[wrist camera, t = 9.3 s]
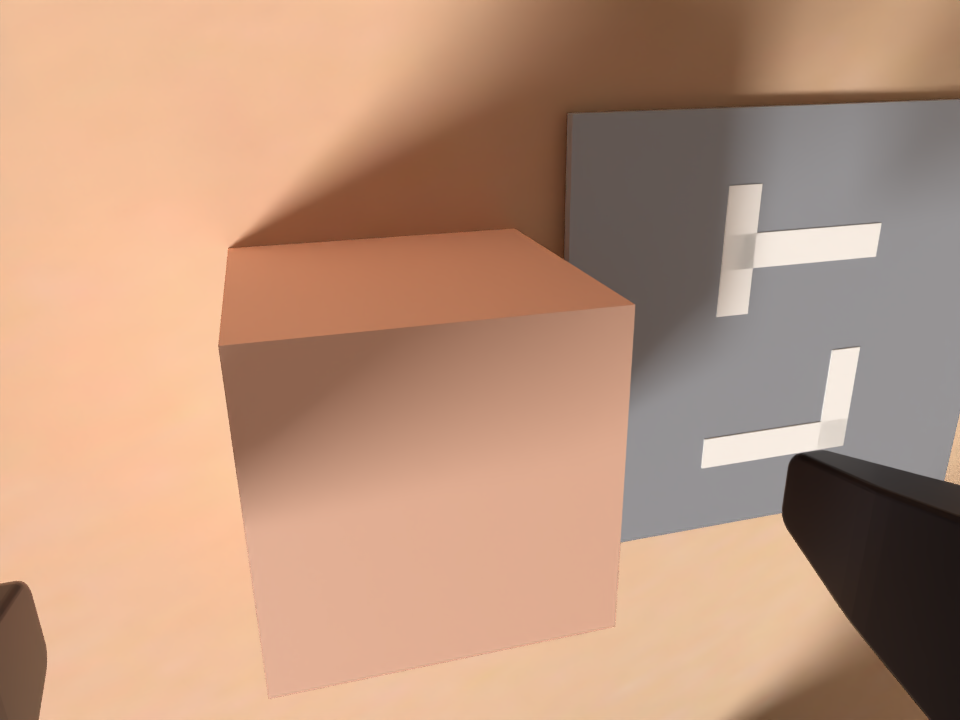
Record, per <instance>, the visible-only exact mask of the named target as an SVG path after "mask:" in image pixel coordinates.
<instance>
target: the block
mask: <svg viewBox="0 0 960 720" xmlns="http://www.w3.org/2000/svg"><path fill="white" fill-rule="evenodd" d="M634 319H635V304H634V303H632V302H630V301H629V300H627V299H626V298H624V297H623V296H621V295H619V294H618V293H616V292H615V291H613V290H611V289H610V288H608V287H607V286H605V285H604V284H602V283H600V282H599V281H597V280H596V279H594V278H592V277H591V276H589V275H588V274H586V273H585V272H583V271H581V270H580V269H578V268H577V267H575V266H573V265H572V264H570V263H569V262H567V261H566V260H564V259H562V258H561V257H559V256H558V255H556V254H554V253H553V252H551V251H550V250H548V249H547V248H545V247H543V246H542V245H540V244H539V243H537V242H535V241H534V240H532V239H531V238H529V237H528V236H526V235H524V234H523V233H521V232H520V231H518V230H516V229H515V228H512V229H498V230H484V231H469V232H455V233H441V234H426V235H412V236H397V237H383V238H369V239H354V240H340V241H325V242H311V243H297V244H282V245H268V246H253V247H239V248H228V256H227V265H226V275H225V285H224V295H223V305H222V315H221V324H220V334H219V344H218V347H219V354H220V361H221V368H222V375H223V382H224V389H225V396H226V404H227V411H228V418H229V425H230V432H231V439H232V446H233V453H234V460H235V467H236V474H237V481H238V488H239V495H240V502H241V509H242V516H243V523H244V530H245V537H246V544H247V551H248V558H249V565H250V572H251V579H252V586H253V593H254V600H255V607H256V614H257V621H258V628H259V635H260V642H261V649H262V656H263V663H264V670H265V677H266V684H267V691H268V698H269V699H271V698H276V697H281V696H286V695H291V694H295V693H300V692H305V691H310V690H315V689H319V688H324V687H329V686H334V685H339V684H343V683H348V682H353V681H358V680H363V679H367V678H372V677H377V676H382V675H386V674H391V673H396V672H401V671H406V670H410V669H415V668H420V667H425V666H430V665H434V664H439V663H444V662H449V661H454V660H458V659H463V658H468V657H473V656H478V655H482V654H487V653H492V652H497V651H502V650H506V649H511V648H516V647H521V646H525V645H530V644H535V643H540V642H545V641H549V640H554V639H559V638H564V637H569V636H573V635H578V634H583V633H588V632H593V631H597V630H602V629H607V628H612V627H615V621H616V605H617V589H618V573H619V557H620V541H621V525H622V509H623V494H624V478H625V462H626V446H627V430H628V414H629V398H630V382H631V366H632V350H633V334H634Z"/></svg>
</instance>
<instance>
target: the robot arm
mask: <svg viewBox="0 0 960 720" xmlns="http://www.w3.org/2000/svg"><path fill="white" fill-rule="evenodd" d="M782 517H783V521H784V523H785V526H786V528H787V530H788V531H789V533H790V534H791V536H792V537H793V539H794V540H795V542H796V543H797V545H798V546H799V548H800V549H801V551H802V552H803V554H804V555H805V557H806V558H807V560H808V561H809V562H810V564H811V565H812V567H813V568H814V570H815V571H816V573H817V574H818V576H819V577H820V579H821V580H822V582H823V583H824V585H825V586H826V588H827V589H828V591H829V592H830V594H831V595H832V597H833V598H834V600H835V601H836V603H837V604H838V606H839V607H840V608H841V610H842V611H843V613H844V614H845V615H846V617H847V618H848V620H849V621H850V623H851V624H852V625H853V626H854V628H855V629H856V630H857V631H858V633H859V634H860V635H861V637H862V638H863V639H864V640H865V642H866V643H867V644H868V645H869V646H870V648H871V649H872V650H873V651H874V653H875V654H876V655H877V656H878V657H879V659H880V660H881V661H882V662H883V664H884V665H885V666H886V667H887V668H888V670H889V671H890V672H891V673H892V674H893V676H894V677H895V678H896V679H897V681H898V682H899V683H900V684H901V685H902V687H903V688H904V689H905V690H906V692H907V693H908V694H909V695H910V696H911V698H912V699H913V700H914V701H915V703H916V704H917V705H918V706H919V707H920V709H921V710H922V711H923V712H924V714H925V715H926V716H927V717H928V718H929V720H960V485H958V484H954V483H950V482H946V481H942V480H938V479H935V478H931V477H927V476H923V475H919V474H915V473H912V472H908V471H904V470H900V469H896V468H892V467H889V466H885V465H881V464H877V463H873V462H869V461H866V460H862V459H858V458H854V457H850V456H846V455H843V454H839V453H835V452H831V451H827V450H815V451H809V452H803V453H798V454H796V455H794V456H793V457H792V458H791V460H790V462H789V464H788V469H787V476H786V483H785V490H784V496H783V503H782ZM46 669H47V650H46V644H45V640H44V636H43V633H42V629H41V625H40V622H39V618H38V614H37V611H36V607H35V604H34V600H33V596H32V593H31V590H30V589H29V587H28V586H27V584H25V583H24V582H22V581H14V582H7V583H1V584H0V720H39V714H40V708H41V701H42V695H43V688H44V682H45V676H46Z"/></svg>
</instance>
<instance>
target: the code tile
mask: <svg viewBox="0 0 960 720" xmlns="http://www.w3.org/2000/svg"><path fill="white" fill-rule="evenodd" d="M564 260H566V261H567V262H569V263H570V264H572V265H573V266H575V267H577V268H578V269H580V270H581V271H583V272H585V273H586V274H588V275H589V276H591V277H592V278H594V279H596V280H597V281H599V282H600V283H602V284H604V285H605V286H607V287H608V288H610V289H611V290H613V291H615V292H616V293H618V294H619V295H621V296H623V297H624V298H626V299H627V300H629V301H630V302H632V303H634V304H635V319H634V334H633V350H632V366H631V382H630V398H629V414H628V430H627V446H626V462H625V478H624V494H623V509H622V525H621V541H620V542H625V541H631V540H636V539H642V538H647V537H653V536H658V535H664V534H669V533H675V532H680V531H686V530H691V529H697V528H702V527H708V526H713V525H719V524H724V523H729V522H735V521H740V520H746V519H751V518H757V517H762V516H768V515H773V514H779V513H782V503H783V496H784V490H785V483H786V476H787V469H788V464H789V462H790V460H791V458H792V457H793V456H794V455H796V454H798V453H803V452H809V451H815V450H827V451H831V452H835V453H839V454H843V455H846V456H850V457H854V458H858V459H862V460H866V461H869V462H873V463H877V464H881V465H885V466H889V467H892V468H896V469H900V470H904V471H908V472H912V473H915V474H919V475H923V476H927V477H931V478H935V479H938V480H942V481H944V479H945V475H946V470H947V466H948V462H949V457H950V453H951V449H952V444H953V440H954V436H955V431H956V427H957V423H958V418H959V414H960V99H939V100H912V101H885V102H858V103H830V104H803V105H776V106H749V107H721V108H694V109H667V110H639V111H612V112H585V113H567V153H566V195H565V236H564Z"/></svg>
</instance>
